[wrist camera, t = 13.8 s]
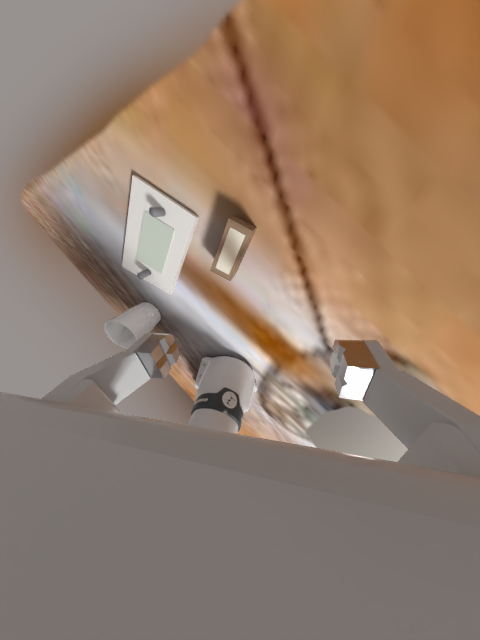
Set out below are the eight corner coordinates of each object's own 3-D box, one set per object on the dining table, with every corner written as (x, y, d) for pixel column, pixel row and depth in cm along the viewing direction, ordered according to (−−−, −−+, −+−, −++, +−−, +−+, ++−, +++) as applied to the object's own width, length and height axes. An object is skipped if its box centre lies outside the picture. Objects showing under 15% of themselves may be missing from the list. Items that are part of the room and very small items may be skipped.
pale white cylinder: (163, 328, 48) (138, 353, 40) (137, 319, 49) (107, 342, 40) (163, 305, 44) (135, 328, 36) (134, 295, 44) (100, 315, 36)
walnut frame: (236, 272, 35) (230, 281, 31) (218, 263, 35) (210, 270, 31) (256, 227, 30) (252, 231, 26) (236, 216, 30) (228, 218, 26)
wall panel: (172, 292, 41) (163, 299, 38) (126, 265, 40) (112, 270, 36) (199, 217, 31) (189, 218, 28) (137, 176, 29) (120, 172, 26)
